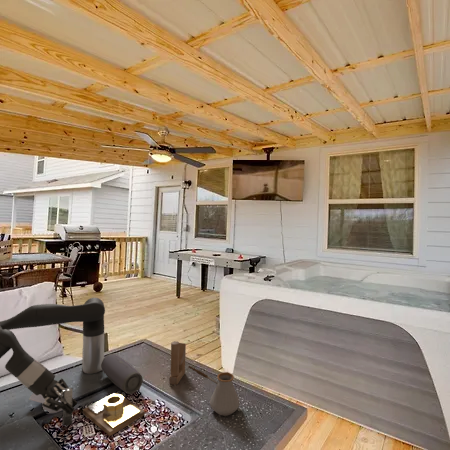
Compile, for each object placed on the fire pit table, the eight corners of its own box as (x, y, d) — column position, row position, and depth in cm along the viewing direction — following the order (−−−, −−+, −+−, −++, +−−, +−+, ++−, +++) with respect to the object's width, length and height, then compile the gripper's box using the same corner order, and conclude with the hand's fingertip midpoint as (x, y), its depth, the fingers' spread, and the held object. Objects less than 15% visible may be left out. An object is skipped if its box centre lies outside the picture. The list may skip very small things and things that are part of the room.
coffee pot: (241, 402, 123) (243, 365, 122) (236, 421, 112) (237, 381, 111) (191, 393, 128) (192, 358, 127) (181, 411, 117) (181, 372, 116)
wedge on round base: (28, 408, 116) (55, 415, 112) (28, 390, 116) (55, 397, 112) (48, 394, 125) (74, 401, 121) (48, 378, 124) (74, 384, 121)
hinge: (87, 408, 115) (87, 397, 114) (114, 394, 123) (114, 384, 123) (113, 428, 104) (113, 417, 104) (140, 412, 113) (140, 402, 113)
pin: (61, 423, 108) (61, 390, 108) (69, 419, 111) (70, 386, 110) (65, 427, 106) (65, 393, 106) (73, 422, 109) (74, 389, 108)
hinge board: (82, 413, 114) (82, 409, 114) (116, 396, 125) (116, 392, 125) (109, 436, 103) (109, 431, 103) (144, 415, 114) (144, 411, 114)
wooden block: (185, 373, 144) (186, 335, 143) (176, 385, 133) (177, 345, 133) (177, 372, 145) (178, 334, 144) (168, 384, 134) (169, 344, 133)
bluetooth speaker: (144, 391, 128) (144, 368, 128) (122, 401, 122) (123, 376, 121) (119, 370, 145) (119, 349, 144) (99, 377, 138) (99, 355, 138)
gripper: (36, 374, 113) (72, 404, 115) (17, 397, 99) (58, 430, 101) (52, 359, 113) (87, 389, 116) (35, 380, 99) (76, 413, 102)
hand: (73, 408), depth 109 cm, fingers closed on pin, 3 cm apart
